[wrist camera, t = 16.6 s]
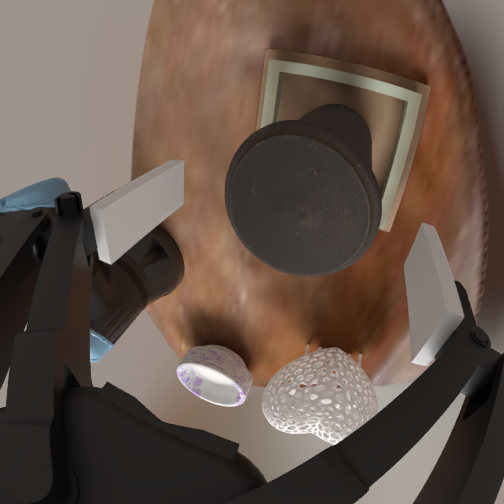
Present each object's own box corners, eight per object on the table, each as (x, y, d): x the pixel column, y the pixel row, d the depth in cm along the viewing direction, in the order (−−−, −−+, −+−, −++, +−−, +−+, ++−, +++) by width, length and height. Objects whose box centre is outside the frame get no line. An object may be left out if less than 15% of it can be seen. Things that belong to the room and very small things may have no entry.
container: (293, 172, 34) (218, 270, 18) (297, 96, 29) (212, 118, 13) (367, 185, 32) (361, 303, 16) (378, 107, 27) (400, 142, 11)
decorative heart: (393, 343, 44) (386, 436, 31) (371, 378, 50) (357, 459, 37) (290, 316, 48) (255, 404, 35) (281, 354, 54) (249, 432, 41)
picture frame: (252, 188, 39) (241, 200, 36) (269, 49, 28) (258, 46, 25) (388, 226, 35) (390, 242, 32) (428, 86, 24) (436, 86, 21)
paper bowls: (269, 380, 61) (257, 410, 54) (215, 379, 68) (201, 405, 62) (236, 331, 55) (218, 363, 49) (180, 336, 63) (162, 362, 57)
